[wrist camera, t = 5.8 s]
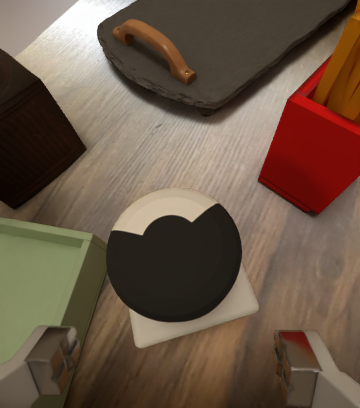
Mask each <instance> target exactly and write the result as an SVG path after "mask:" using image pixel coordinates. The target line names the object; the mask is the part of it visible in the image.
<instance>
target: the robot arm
mask: <svg viewBox="0 0 360 408" xmlns="http://www.w3.org/2000/svg"><path fill="white" fill-rule="evenodd" d="M76 334H77V331H76V328H75V327H72V326H47V325H39V326H38V327H36V328H35V329H34V330H33V332H32V333H31V334H30V336H29V337H28V338H27V339H26V341H25V342H24V343H23V345H22V346H21V347H20V349H19V350H18V351H17V352H16V354H15V355H14V356H13V358H12V359H11V360H10V361H5V362H4V363H2V364H1V365H0V408H29V407H30V406H31V405H32V404H33V403H34V402H35V401H36V400H37V399H38V398H39V397H40V395H62V393H63V391H64V388H65V386H66V384H67V382H68V380H69V378H70V376H69V372H70V371H71V370H72V369H73V368H74V367H75V366H76V364H77V362H78V360H79V356H80V352H81V349H80V342H79V340H78V339H76V338H75V336H76ZM274 339H275V343H276V344H275V345H273V361H274V366H275V370H276V374H277V375H278V376H279V377H280V378H281V382H280V388H281V391H282V394H283V398H284V401H285V404H286V406H294V407H307V408H360V384H358V383H357V382H356V381H355V380H354V379H352V378H351V377H350V376H349V375H347V374H346V373H345V372H340V371H339V369H338V368H337V366H336V364H335V362H334V360H333V358H332V357H331V355H330V353H329V351H328V349H327V347H326V345H325V344H324V342H323V340H322V338H321V336H320V334H319V333H318V332H317V331H316V330H275V332H274Z"/></svg>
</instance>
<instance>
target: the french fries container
mask: <svg viewBox="0 0 360 408" xmlns="http://www.w3.org/2000/svg"><path fill="white" fill-rule="evenodd" d="M359 176H360V0H358V3H357V6H356V10H355V13H354V14H353V15H352V16H351V17H350V19H349V21H348V24H347V26H346V28H345V30H344V32H343V34H342V36H341V38H340V40H339V42H338V44H337V47H336V49H335V51H334V53H333V54H332V55H331V56H330V57H329V58H328V59H327V60H326V61H325V62H324V63H323V64H322V65H321V66H320V67H319V68H318V69H317V70H316V71H315V72H314V73H313V74H312V75H311V76H310V77H309V78H308V79H307V80H306V81H305V82H304V83H303V84H302V85H301V86H300V87H299V88H298V89H297V90H296V91H295V92H294V93H293V94H292V95H291V96H290V97H289V98H288V99H287V102H286V105H285V107H284V110H283V113H282V116H281V118H280V121H279V124H278V126H277V129H276V132H275V135H274V137H273V140H272V143H271V145H270V148H269V151H268V154H267V156H266V159H265V162H264V164H263V167H262V170H261V172H260V175H259V178H258V181H260V182H261V183H263V184H264V185H266V186H267V187H269V188H270V189H272V190H273V191H275V192H276V193H278V194H279V195H281V196H282V197H284V198H285V199H287V200H288V201H290V202H291V203H293V204H294V205H296V206H297V207H299V208H300V209H302V210H303V211H305V212H306V213H307V212H308V211H309V210H311V211H313V212H314V213H316V214H317V215H318V214H319V213H321V212H322V211H323V210H324V209H325V208H326V207H327V206H328V205H329V204H330V203H331V202H332V201H333V200H334V199H335V198H337V197H338V196H339V195H340V194H341V193H342V192H343V191H344V190H345V189H346V188H347V187H348V186H349V185H350V184H351V183H353V182H354V181H355V180H356V179H357V178H358V177H359Z"/></svg>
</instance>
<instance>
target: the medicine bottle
mask: <svg viewBox="0 0 360 408" xmlns="http://www.w3.org/2000/svg"><path fill="white" fill-rule="evenodd" d="M241 259H242V247H241V240H240V236H239V232H238V229H237V227H236V225H235V223H234V221H233V219H232V217H231V216H230V215H229V213H228V212H227V211H226V209H225V208H224V207H223V206H222V205H220V204H219V203H218V202H217V201H215V200H214V199H213V198H211V197H209V196H208V195H206V194H204V193H201V192H198V191H195V190H191V189H186V188H167V189H161V190H157V191H154V192H151V193H149V194H146V195H145V196H143V197H141V198H139V199H138V200H136V201H135V202H133V203H132V204H131V205H130V206H129V207H128V208H127V209H126V210H125V211H124V212H123V213H122V214H121V215H120V217H119V218H118V220H117V221H116V223H115V225H114V227H113V229H112V231H111V234H110V237H109V239H108V244H107V250H106V265H107V271H108V276H109V279H110V281H111V284H112V286H113V288H114V290H115V291H116V293H117V295H118V296H119V297H120V299H121V300H122V301H123V302H124V303H125V304H126V305H127V306H128V307H129V313H130V319H131V325H132V331H133V337H134V343H135V345H136V346H137V347H138V348H144V347H148V346H151V345H154V344H157V343H161V342H164V341H167V340H170V339H174V338H177V337H180V336H183V335H186V334H190V333H193V332H196V331H199V330H203V329H206V328H209V327H212V326H215V325H219V324H222V323H225V322H228V321H232V320H235V319H238V318H241V317H245V316H248V315H251V314H254V313H256V312H257V311H258V309H259V304H258V302H257V299H256V297H255V294H254V291H253V289H252V286H251V284H250V281H249V279H248V276H247V273H246V271H245V268H244V266H243V263H242V261H241Z"/></svg>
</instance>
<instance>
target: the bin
mask: <svg viewBox="0 0 360 408" xmlns="http://www.w3.org/2000/svg"><path fill="white" fill-rule="evenodd" d="M106 250H107V244H106V243H105V242H103V241H102V240H101V239H99V238H98V237H97V236H96V235H94V234H93V233H87V232H81V231H76V230H70V229H65V228H59V227H54V226H48V225H42V224H37V223H31V222H26V221H20V220H15V219H9V218H3V217H0V365H1V364H2V363H4V362H5V361H10V360H11V359H12V358H13V356H14V355H15V354H16V352H17V351H18V350H19V349H20V347H21V346H22V345H23V343H24V342H25V341H26V339H27V338H28V337H29V336H30V334H31V333H32V332H33V330H34V329H35V328H36V327H38V326H39V325H47V326H72V327H75V328H76V331H77V334H76V336H75V338H76V339H78V340H79V342H80V349H82V346H83V343H84V340H85V337H86V334H87V330H88V327H89V324H90V321H91V318H92V315H93V312H94V308H95V305H96V302H97V299H98V296H99V293H100V290H101V287H102V283H103V280H104V277H105V274H106V271H107V265H106ZM76 365H77V364H76ZM75 368H76V366H75V367H74V368H73V369H72V370H71V371H70V372H69V376H70V378H69V380H68V382H67V384H66V386H65V388H64V391H63V393H62V395H40V397H39V398H38V399H37V400H36V401H35V402H34V403H33V404H32V405H31V406H30V407H29V408H63V406H64V403H65V399H66V396H67V393H68V390H69V387H70V384H71V381H72V377H73V374H74V371H75Z"/></svg>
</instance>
